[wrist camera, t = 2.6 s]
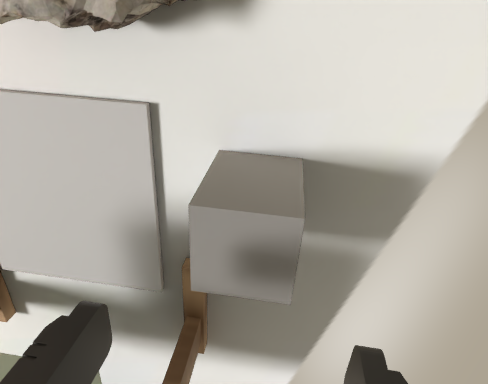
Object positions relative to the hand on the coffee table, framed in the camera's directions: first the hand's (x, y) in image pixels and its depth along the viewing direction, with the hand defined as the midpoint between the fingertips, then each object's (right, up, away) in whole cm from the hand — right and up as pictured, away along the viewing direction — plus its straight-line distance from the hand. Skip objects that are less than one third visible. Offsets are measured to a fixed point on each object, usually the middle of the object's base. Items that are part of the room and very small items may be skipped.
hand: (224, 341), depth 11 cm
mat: (-11, +4, +10) cm, 15 cm away
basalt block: (+1, +5, +8) cm, 10 cm away
